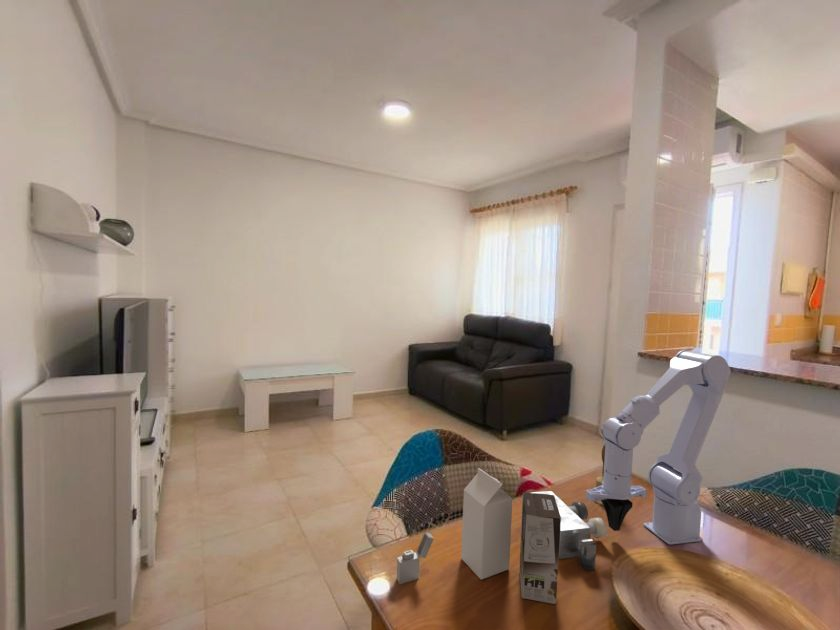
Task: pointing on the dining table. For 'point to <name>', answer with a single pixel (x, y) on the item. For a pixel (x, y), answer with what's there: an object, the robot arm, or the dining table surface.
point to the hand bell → (600, 479)
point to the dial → (587, 554)
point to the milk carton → (486, 526)
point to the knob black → (579, 510)
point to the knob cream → (597, 527)
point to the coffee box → (539, 547)
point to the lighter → (412, 560)
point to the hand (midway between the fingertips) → (614, 528)
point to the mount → (569, 530)
